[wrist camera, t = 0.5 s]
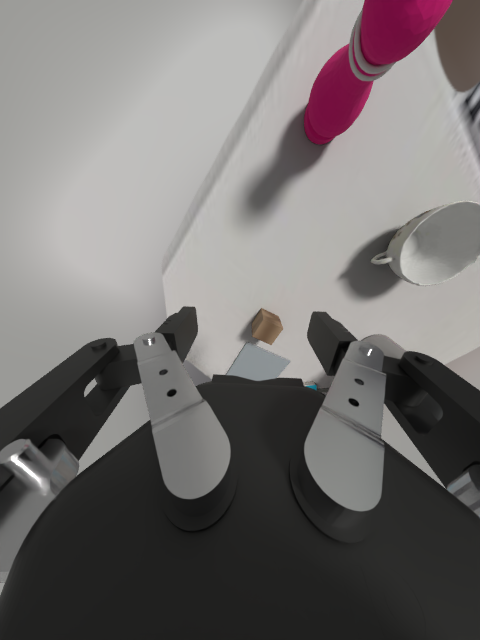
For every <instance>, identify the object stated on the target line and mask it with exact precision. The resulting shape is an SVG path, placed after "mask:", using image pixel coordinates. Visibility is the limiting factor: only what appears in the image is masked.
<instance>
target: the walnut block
mask: <svg viewBox="0 0 480 640" xmlns="http://www.w3.org/2000/svg"><path fill="white" fill-rule="evenodd" d="M282 330H283V327H282V324H281V321H280V319H279V316H277V315H275V314H272V313H270V312H268V311H266V310H264V309H262V308H261V310H260V311H259V313H258V314H257V316H256V318H255V319H254V321H253V323H252V337H254V338H257V339H259V340H261V341H263V342H266V343H268V344H270V345H272V343H273V342H274V341H275V339H276V338H277V336H278V335H279V334H280V332H281V331H282Z"/></svg>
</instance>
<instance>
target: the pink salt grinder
mask: <svg viewBox="0 0 480 640" xmlns="http://www.w3.org/2000/svg"><path fill="white" fill-rule="evenodd" d="M452 1H453V0H365V2H364V5H363V8H362V11H361V12H360V14H359V16H358V18H357V20H356V22H355V25H354V27H353V30H352V33H351V38H350V43H349V44H347V45H346V46H344V47H343V48H341V49H340V50H338V51H337V52H336V53H335V54H334V55H333V56H332V57H331V58H330V59H329V60H328V61H327V62H326V63H325V65H324V66H323V68H322V69H321V71H320V73H319V74H318V76H317V78H316V80H315V82H314V84H313V87H312V90H311V93H310V98H309V103H308V105H307V108H306V111H305V116H304V129H305V132H306V135H307V137H308V138H309V140H310V141H312V142H313V143H315V144H325V143H328V142H329V141H331V140H332V139H333V138H335V137H336V136H338V135H340V134H341V133H343V132H344V131H346V130H347V129H348V128H349V127H350V126H351V125H352V124H353V122H354V121H355V120H356V119H357V117H358V116H359V114H360V113H361V111H362V109H363V107H364V105H365V103H366V101H367V99H368V97H369V94H370V92H371V88H372V85H373V81H374V80H376V79H378V78H380V77H382V76H383V75H384V74H385V73H386V72H387V71H389V70H390V69H391V67H392V66H393V65H394V64H395V63H396V62H397V61H399V60H401V59H403V58H404V57H406V56H407V55H409V54H410V53H411V52H412V51H414V50H415V49H416V48H417V47H418V46H419V45H420V44H421V43H422V42H423V41H424V40H425V39H426V38H427V36H428V35H429V34H430V33H431V32H432V30H433V29H434V28H435V27H436V25H437V24H438V23H439V21H440V20H441V18H442V17H443V15H444V14H445V12H446V11H447V9H448V8H449V6H450V4H451V2H452Z"/></svg>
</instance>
